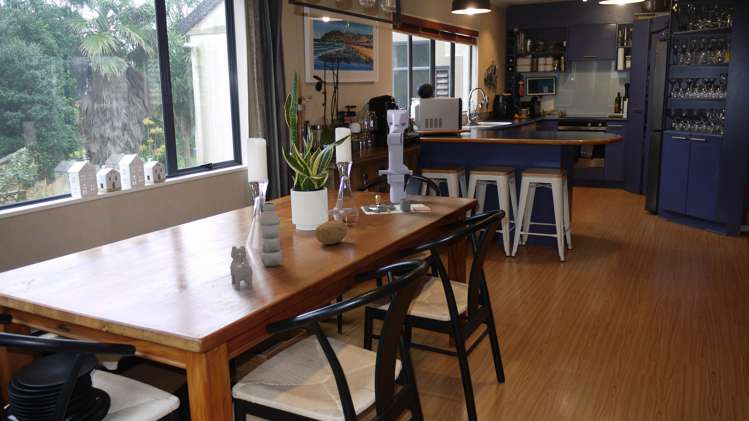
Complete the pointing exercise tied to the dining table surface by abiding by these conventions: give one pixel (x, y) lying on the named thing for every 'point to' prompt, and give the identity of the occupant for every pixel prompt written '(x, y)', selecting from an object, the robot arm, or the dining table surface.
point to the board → (413, 209)
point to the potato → (331, 232)
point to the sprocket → (379, 207)
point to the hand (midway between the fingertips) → (395, 191)
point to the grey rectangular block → (405, 205)
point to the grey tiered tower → (270, 236)
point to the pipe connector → (339, 210)
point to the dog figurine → (240, 267)
